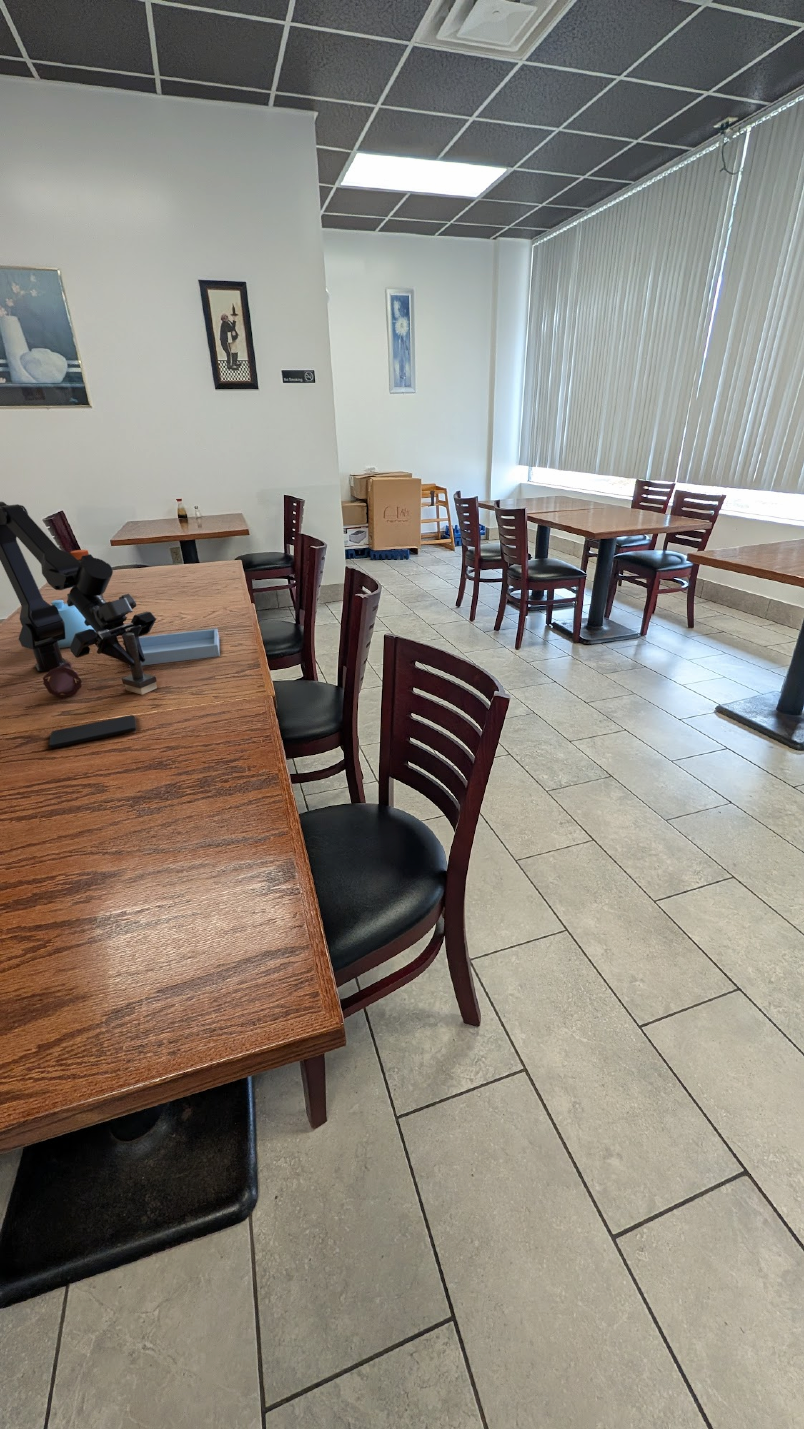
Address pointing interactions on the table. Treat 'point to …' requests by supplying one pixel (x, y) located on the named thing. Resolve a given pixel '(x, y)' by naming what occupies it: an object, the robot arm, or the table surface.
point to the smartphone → (92, 731)
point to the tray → (180, 646)
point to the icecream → (62, 681)
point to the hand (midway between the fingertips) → (138, 663)
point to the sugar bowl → (70, 622)
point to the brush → (136, 669)
